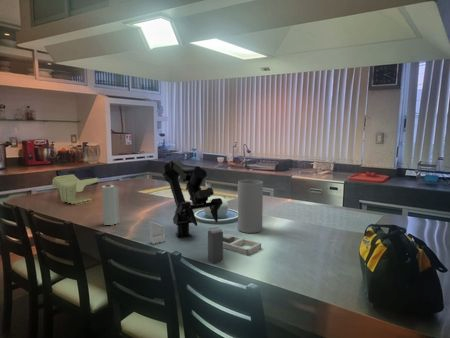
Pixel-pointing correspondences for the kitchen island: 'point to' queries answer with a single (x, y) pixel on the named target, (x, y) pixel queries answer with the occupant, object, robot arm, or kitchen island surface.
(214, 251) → the iec plug
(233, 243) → the beige divided rectangular frame
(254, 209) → the cylinder vase
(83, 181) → the pale green plastic piece
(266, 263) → the kitchen island surface
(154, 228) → the white angled block
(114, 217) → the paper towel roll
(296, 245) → the kitchen island surface
